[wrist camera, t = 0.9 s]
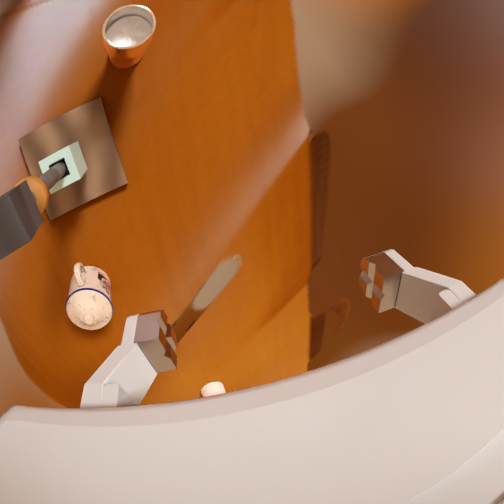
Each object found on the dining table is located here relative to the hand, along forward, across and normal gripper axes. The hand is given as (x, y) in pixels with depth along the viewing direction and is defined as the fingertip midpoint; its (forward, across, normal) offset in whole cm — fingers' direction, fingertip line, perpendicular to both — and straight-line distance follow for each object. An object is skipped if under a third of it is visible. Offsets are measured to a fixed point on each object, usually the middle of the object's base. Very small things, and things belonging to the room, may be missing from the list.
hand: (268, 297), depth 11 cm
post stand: (+37, +24, -6) cm, 44 cm away
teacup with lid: (+36, +30, +17) cm, 50 cm away
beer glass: (+40, +11, -21) cm, 46 cm away
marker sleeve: (+34, +23, -6) cm, 41 cm away
